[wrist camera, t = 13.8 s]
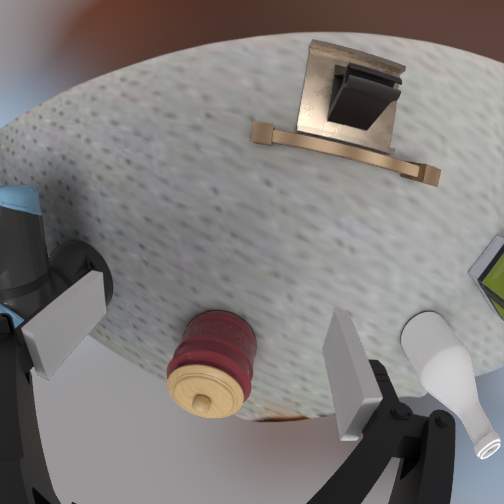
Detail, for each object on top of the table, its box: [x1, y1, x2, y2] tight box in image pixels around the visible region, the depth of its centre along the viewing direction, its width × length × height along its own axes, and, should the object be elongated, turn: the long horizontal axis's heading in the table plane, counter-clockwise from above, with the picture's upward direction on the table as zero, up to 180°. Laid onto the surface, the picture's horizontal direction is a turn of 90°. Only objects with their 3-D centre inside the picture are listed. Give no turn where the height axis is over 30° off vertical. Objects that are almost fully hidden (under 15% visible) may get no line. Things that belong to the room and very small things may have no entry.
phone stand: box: [327, 62, 402, 131], centre depth 31 cm, size 9×6×12 cm, turn 170°
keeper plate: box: [296, 39, 406, 155], centre depth 36 cm, size 14×14×3 cm
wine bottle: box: [401, 312, 500, 459], centre depth 34 cm, size 10×10×30 cm
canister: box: [167, 311, 256, 418], centre depth 44 cm, size 13×13×18 cm
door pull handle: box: [250, 122, 441, 187], centre depth 36 cm, size 25×2×8 cm, turn 81°
